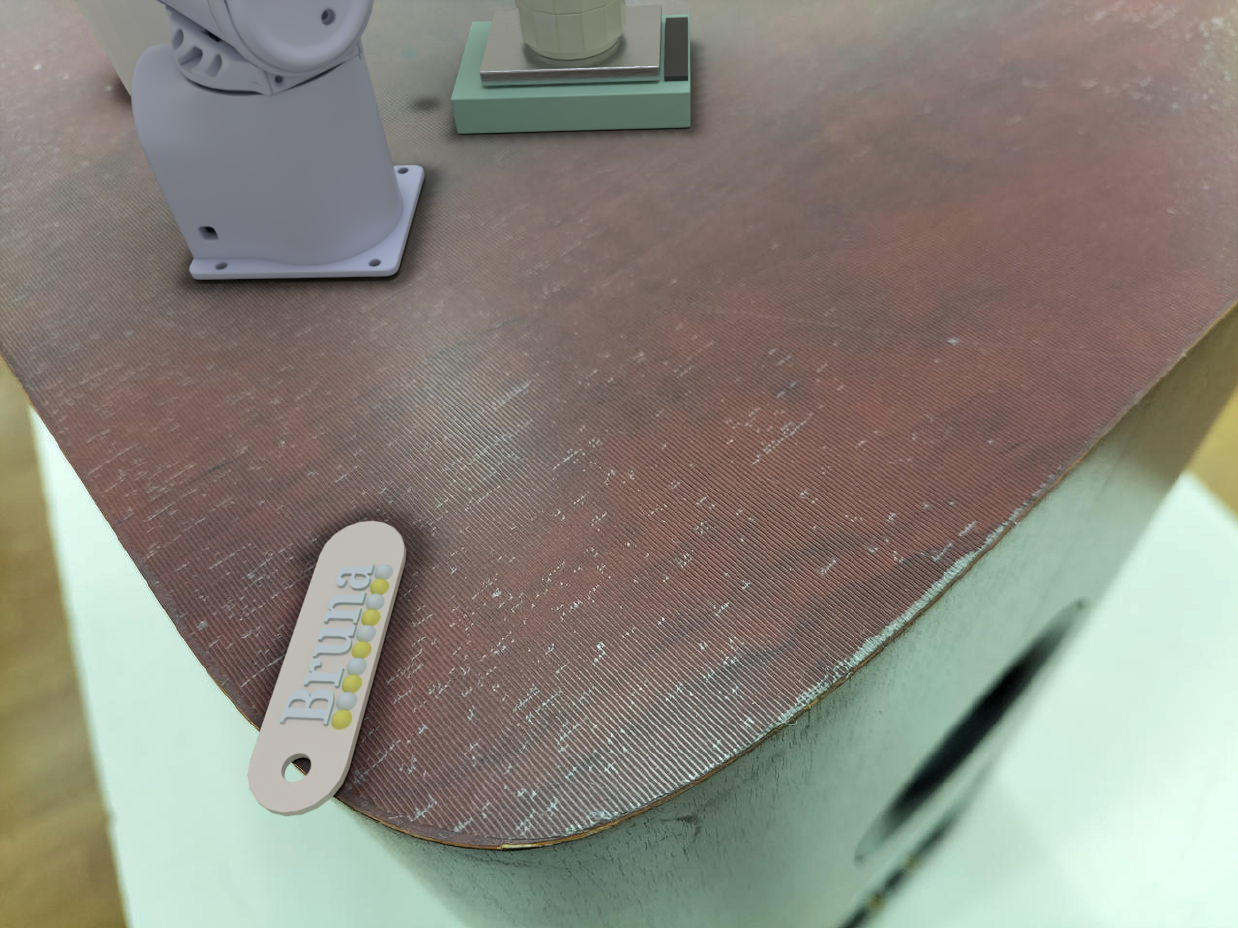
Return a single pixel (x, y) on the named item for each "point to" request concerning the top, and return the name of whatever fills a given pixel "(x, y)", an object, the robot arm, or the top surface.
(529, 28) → the green faceted cup
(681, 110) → the scale
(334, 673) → the keychain
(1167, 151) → the top surface
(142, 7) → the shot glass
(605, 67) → the pan
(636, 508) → the top surface
